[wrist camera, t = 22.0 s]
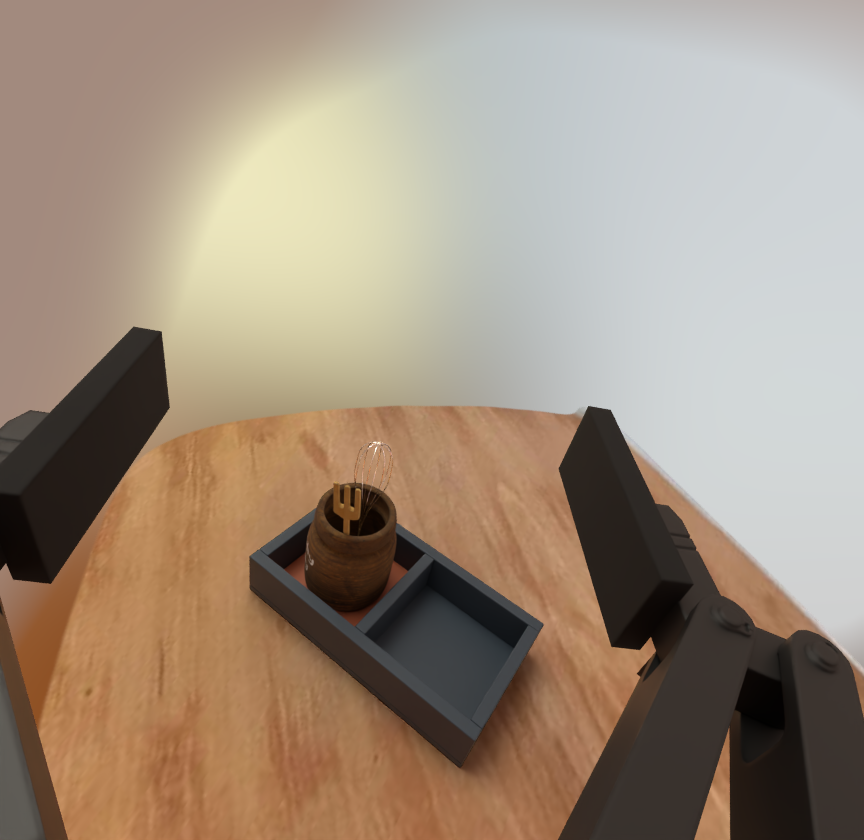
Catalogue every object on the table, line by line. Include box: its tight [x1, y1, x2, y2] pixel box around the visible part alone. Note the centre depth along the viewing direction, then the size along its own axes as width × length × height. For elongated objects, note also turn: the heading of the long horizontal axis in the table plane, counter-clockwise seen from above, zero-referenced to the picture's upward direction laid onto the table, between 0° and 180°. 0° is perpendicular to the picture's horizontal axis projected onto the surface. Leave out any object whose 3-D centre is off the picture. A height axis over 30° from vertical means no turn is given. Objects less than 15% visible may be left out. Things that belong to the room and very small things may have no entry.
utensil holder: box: [304, 441, 397, 611], centre depth 34 cm, size 6×6×12 cm
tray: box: [250, 508, 543, 767], centre depth 35 cm, size 9×17×4 cm, turn 56°
